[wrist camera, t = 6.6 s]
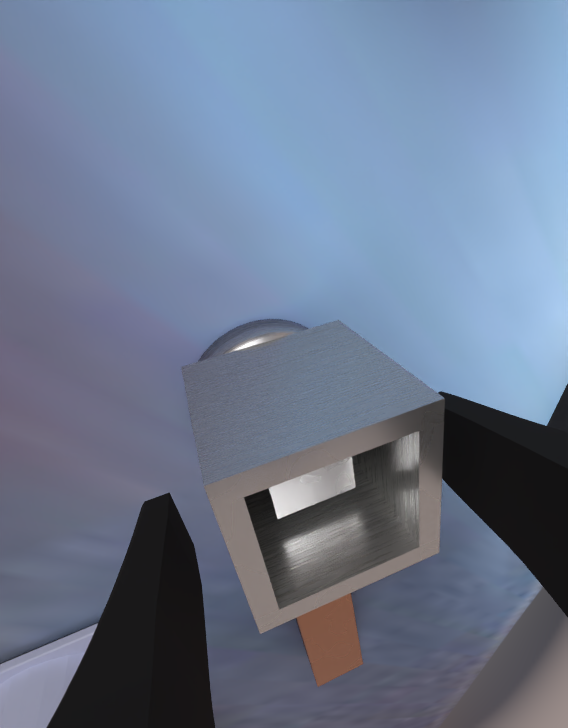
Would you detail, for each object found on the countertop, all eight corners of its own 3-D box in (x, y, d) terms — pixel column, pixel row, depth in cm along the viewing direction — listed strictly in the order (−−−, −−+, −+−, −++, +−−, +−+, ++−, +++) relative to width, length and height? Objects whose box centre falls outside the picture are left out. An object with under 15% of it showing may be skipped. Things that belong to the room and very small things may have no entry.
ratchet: (164, 347, 12) (174, 425, 8) (325, 299, 13) (398, 349, 9) (285, 667, 23) (314, 768, 19) (370, 625, 24) (414, 712, 20)
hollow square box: (352, 441, 14) (439, 552, 10) (223, 489, 14) (260, 633, 9) (338, 320, 12) (444, 398, 8) (180, 367, 11) (203, 486, 7)
